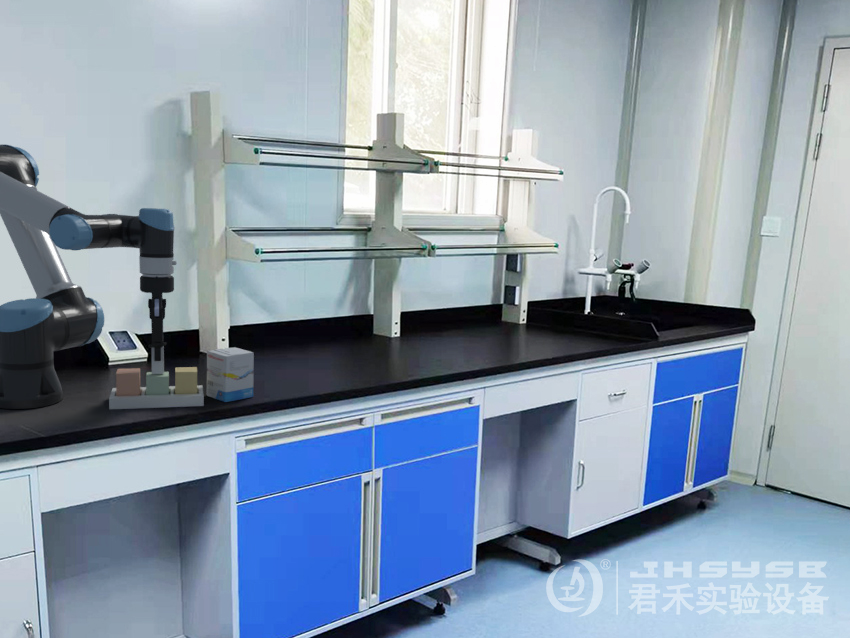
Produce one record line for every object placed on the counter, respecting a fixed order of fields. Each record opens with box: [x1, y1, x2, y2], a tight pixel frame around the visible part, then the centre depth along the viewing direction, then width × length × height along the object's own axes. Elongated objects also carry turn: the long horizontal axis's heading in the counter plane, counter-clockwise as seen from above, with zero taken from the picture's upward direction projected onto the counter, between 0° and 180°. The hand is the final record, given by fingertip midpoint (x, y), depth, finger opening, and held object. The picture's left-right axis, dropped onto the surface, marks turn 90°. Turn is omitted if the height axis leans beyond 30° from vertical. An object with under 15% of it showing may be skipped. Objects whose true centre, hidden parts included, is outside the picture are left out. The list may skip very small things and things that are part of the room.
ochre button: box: [174, 366, 198, 394], centre depth 181 cm, size 5×5×6 cm
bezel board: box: [108, 384, 205, 410], centre depth 179 cm, size 21×10×2 cm, turn 108°
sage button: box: [145, 371, 170, 395], centre depth 179 cm, size 5×5×6 cm
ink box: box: [206, 346, 255, 403], centre depth 187 cm, size 9×8×12 cm
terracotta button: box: [115, 367, 141, 396], centre depth 177 cm, size 5×5×6 cm
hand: (157, 373), depth 179 cm, fingers closed
